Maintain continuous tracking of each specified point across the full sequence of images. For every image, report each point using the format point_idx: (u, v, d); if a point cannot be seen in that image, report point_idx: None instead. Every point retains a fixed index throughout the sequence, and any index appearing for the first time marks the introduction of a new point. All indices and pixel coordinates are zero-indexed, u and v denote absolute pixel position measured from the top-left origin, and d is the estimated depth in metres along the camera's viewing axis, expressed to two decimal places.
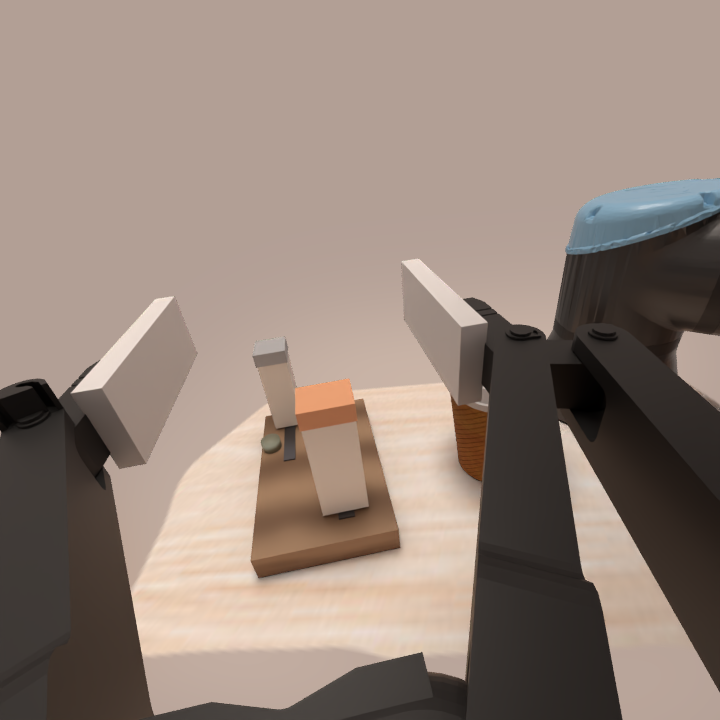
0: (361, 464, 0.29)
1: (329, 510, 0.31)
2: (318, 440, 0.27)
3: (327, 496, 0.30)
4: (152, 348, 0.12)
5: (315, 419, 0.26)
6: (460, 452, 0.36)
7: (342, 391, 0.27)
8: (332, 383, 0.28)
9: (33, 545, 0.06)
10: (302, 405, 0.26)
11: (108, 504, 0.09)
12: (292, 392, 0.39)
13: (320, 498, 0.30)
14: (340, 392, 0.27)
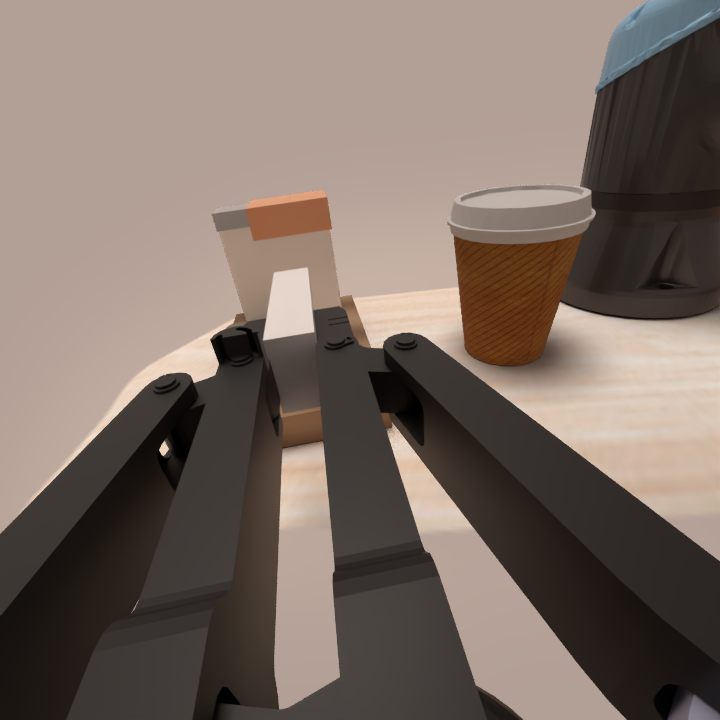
0: None
1: None
2: (280, 260, 0.20)
3: None
4: None
5: (273, 220, 0.19)
6: (467, 331, 0.30)
7: (312, 194, 0.20)
8: (300, 193, 0.21)
9: (221, 479, 0.06)
10: (256, 204, 0.19)
11: (277, 451, 0.09)
12: None
13: None
14: (309, 195, 0.20)
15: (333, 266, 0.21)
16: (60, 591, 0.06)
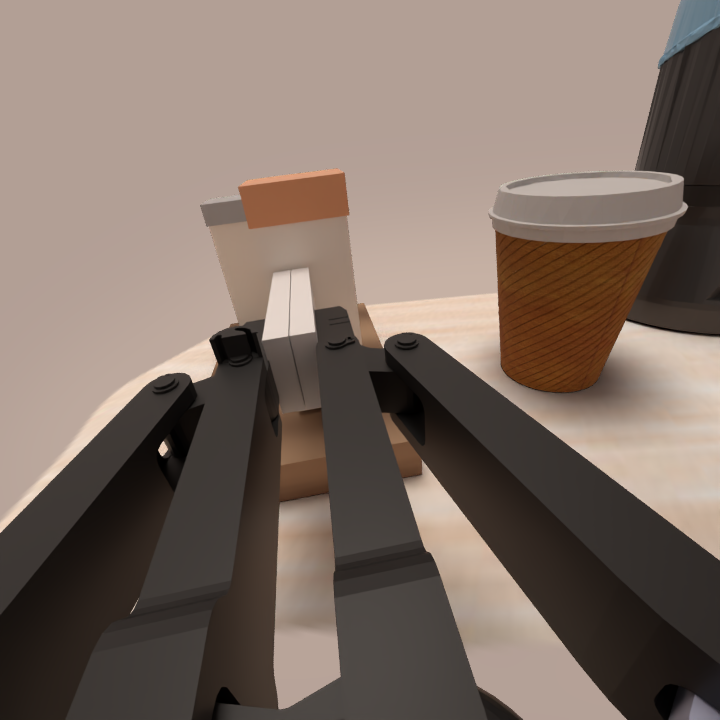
0: (356, 314, 0.18)
1: None
2: (283, 255, 0.16)
3: None
4: None
5: (274, 202, 0.15)
6: (508, 349, 0.24)
7: (324, 172, 0.16)
8: (308, 172, 0.17)
9: (220, 479, 0.06)
10: (252, 183, 0.15)
11: (276, 451, 0.09)
12: (262, 274, 0.28)
13: None
14: (320, 172, 0.16)
15: (349, 263, 0.16)
16: (59, 591, 0.06)
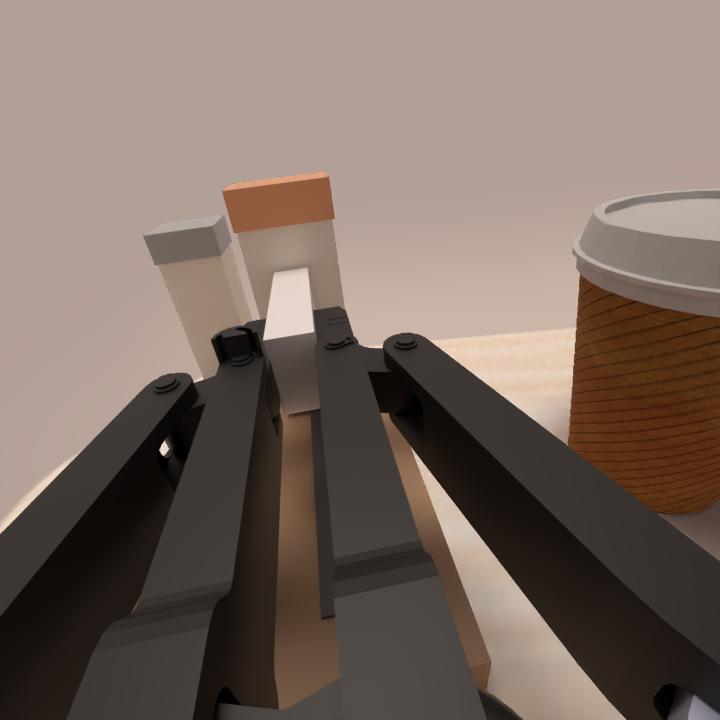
0: None
1: None
2: (269, 258, 0.16)
3: None
4: None
5: (259, 206, 0.15)
6: (589, 444, 0.17)
7: (310, 176, 0.16)
8: (295, 175, 0.17)
9: (221, 479, 0.06)
10: (237, 187, 0.15)
11: (277, 451, 0.09)
12: None
13: None
14: (305, 176, 0.16)
15: (336, 266, 0.16)
16: (60, 591, 0.06)
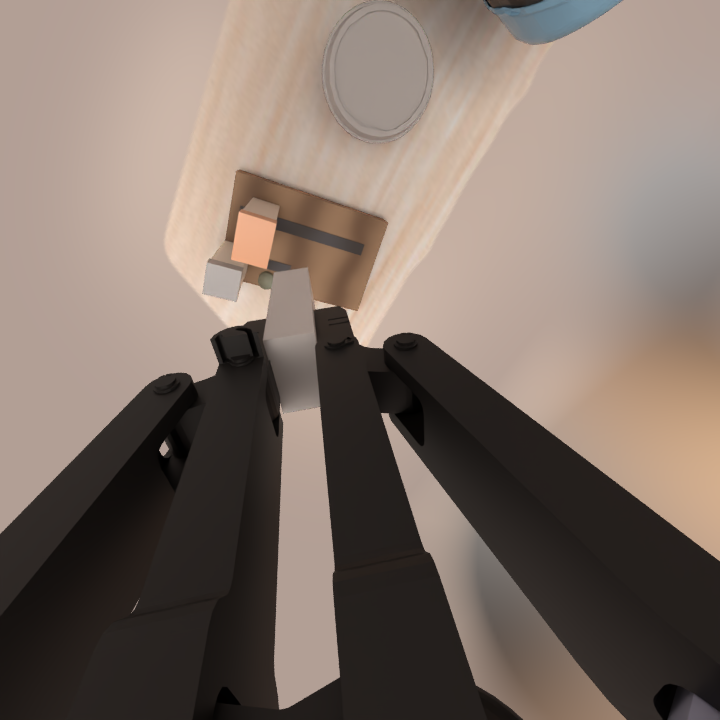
0: (277, 214, 0.37)
1: None
2: None
3: None
4: None
5: None
6: None
7: (255, 225, 0.32)
8: (238, 228, 0.32)
9: (221, 479, 0.06)
10: (258, 261, 0.33)
11: (277, 451, 0.09)
12: None
13: None
14: (255, 228, 0.32)
15: (276, 218, 0.35)
16: (60, 591, 0.06)
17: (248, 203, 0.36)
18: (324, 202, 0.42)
